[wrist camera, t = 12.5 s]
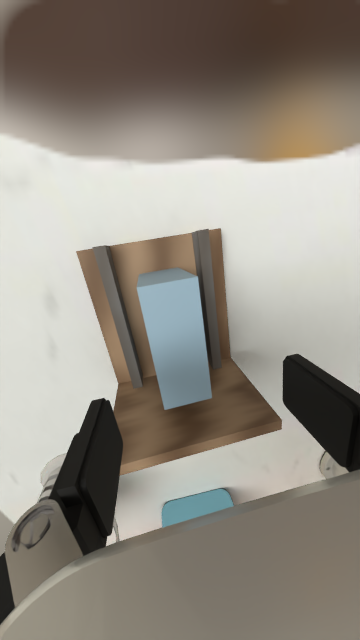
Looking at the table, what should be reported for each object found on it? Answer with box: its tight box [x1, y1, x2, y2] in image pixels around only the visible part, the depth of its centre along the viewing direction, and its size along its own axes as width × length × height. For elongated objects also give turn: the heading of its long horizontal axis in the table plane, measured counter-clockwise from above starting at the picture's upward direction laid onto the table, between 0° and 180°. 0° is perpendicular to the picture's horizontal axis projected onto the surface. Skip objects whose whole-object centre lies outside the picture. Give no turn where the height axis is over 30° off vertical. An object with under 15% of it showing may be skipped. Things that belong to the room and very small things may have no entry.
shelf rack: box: [76, 228, 282, 475], centre depth 18 cm, size 14×16×12 cm
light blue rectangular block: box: [137, 267, 212, 410], centre depth 18 cm, size 4×10×8 cm, turn 9°
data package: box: [162, 489, 234, 528], centre depth 30 cm, size 12×4×12 cm, turn 94°
